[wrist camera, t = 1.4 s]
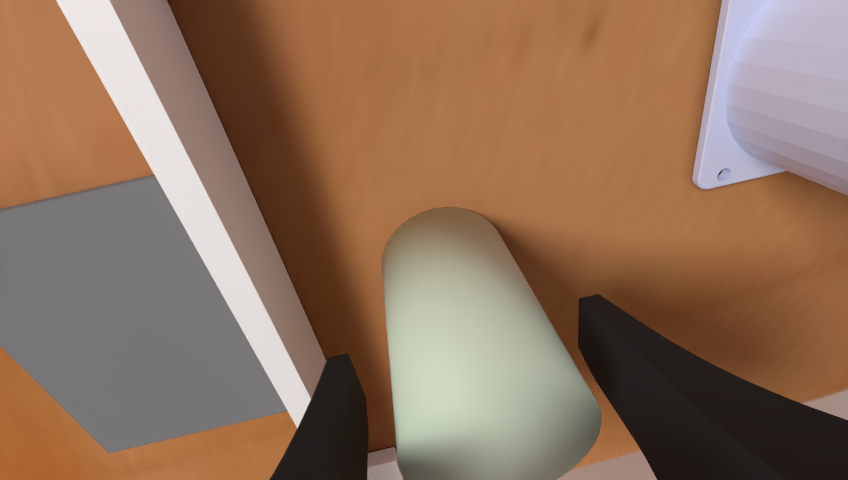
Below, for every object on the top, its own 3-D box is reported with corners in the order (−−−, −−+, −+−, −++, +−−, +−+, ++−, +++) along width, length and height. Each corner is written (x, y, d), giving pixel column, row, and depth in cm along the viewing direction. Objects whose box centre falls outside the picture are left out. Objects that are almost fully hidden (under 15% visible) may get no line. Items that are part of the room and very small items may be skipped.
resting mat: (175, 170, 14) (172, 173, 13) (299, 402, 20) (298, 408, 20) (-101, 231, 13) (-110, 236, 13) (112, 447, 20) (108, 453, 19)
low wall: (176, -132, 10) (113, -174, 7) (402, 467, 24) (407, 525, 21) (10, -97, 10) (-111, -128, 7) (332, 483, 23) (329, 544, 21)
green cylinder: (498, 194, 16) (606, 349, 9) (508, 296, 18) (597, 477, 11) (367, 223, 16) (374, 404, 9) (396, 322, 18) (419, 520, 11)
